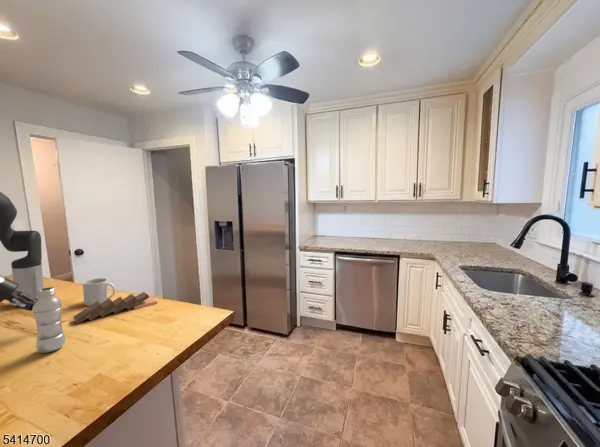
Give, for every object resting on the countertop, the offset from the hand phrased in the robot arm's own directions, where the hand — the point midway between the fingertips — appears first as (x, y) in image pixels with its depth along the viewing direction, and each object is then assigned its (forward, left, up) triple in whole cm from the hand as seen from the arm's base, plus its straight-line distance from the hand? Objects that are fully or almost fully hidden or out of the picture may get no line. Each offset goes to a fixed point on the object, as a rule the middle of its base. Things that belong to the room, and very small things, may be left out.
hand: (48, 311), depth 93 cm
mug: (-18, +17, -7) cm, 26 cm away
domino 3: (0, +15, -6) cm, 16 cm away
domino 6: (0, +26, -7) cm, 27 cm away
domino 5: (0, +24, -6) cm, 24 cm away
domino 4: (0, +19, -6) cm, 20 cm away
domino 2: (0, +11, -6) cm, 13 cm away
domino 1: (0, +7, -6) cm, 9 cm away
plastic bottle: (+18, 0, -7) cm, 19 cm away
